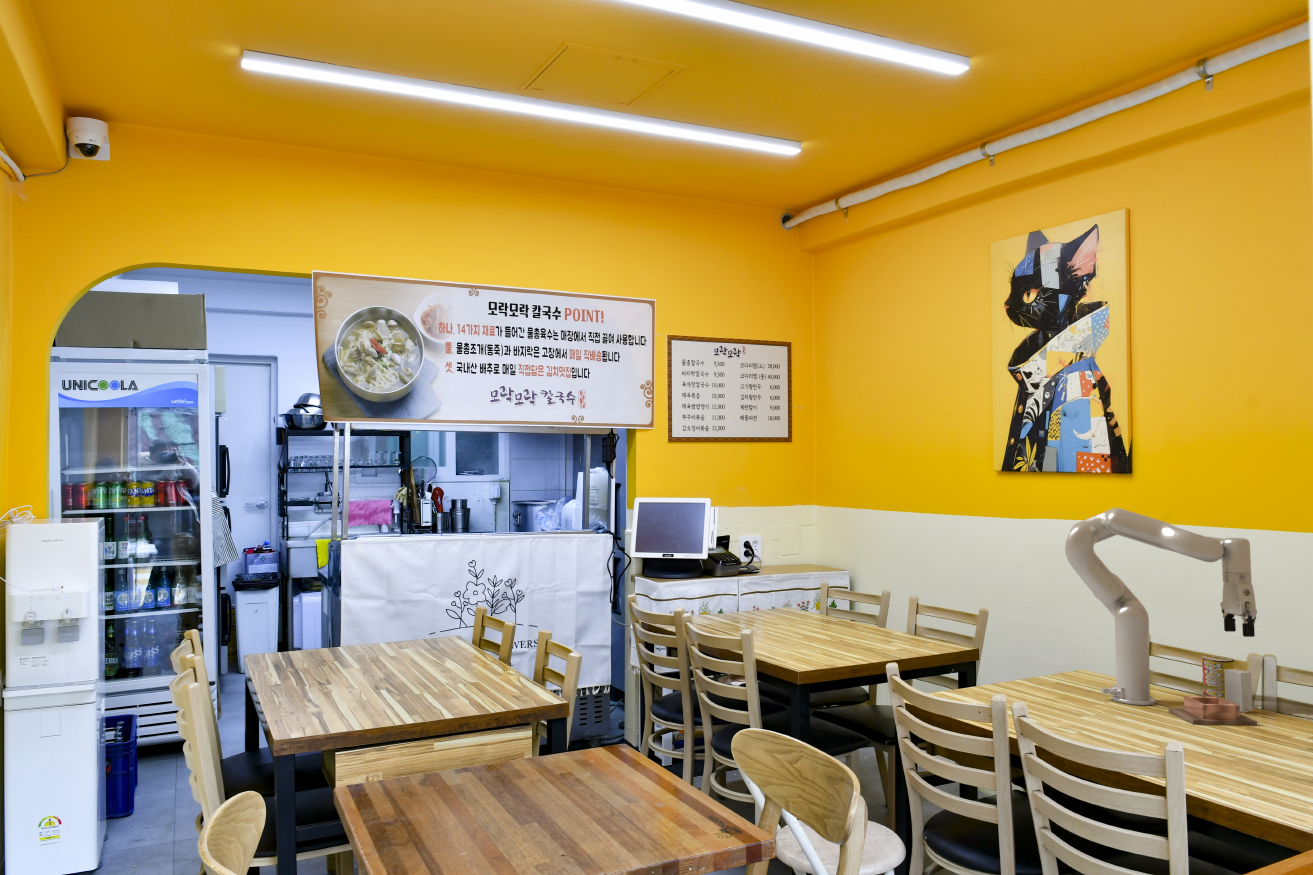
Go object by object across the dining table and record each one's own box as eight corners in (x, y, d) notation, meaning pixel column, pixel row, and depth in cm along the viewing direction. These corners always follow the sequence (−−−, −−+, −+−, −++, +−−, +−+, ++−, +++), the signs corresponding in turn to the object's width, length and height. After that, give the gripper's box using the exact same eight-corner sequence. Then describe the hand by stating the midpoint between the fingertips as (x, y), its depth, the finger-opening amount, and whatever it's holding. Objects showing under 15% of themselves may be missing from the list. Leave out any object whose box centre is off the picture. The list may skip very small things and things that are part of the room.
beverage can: (1201, 690, 305) (1200, 654, 305) (1232, 693, 301) (1231, 657, 301) (1204, 696, 296) (1203, 659, 297) (1237, 699, 293) (1235, 661, 293)
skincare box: (1253, 711, 277) (1251, 672, 277) (1242, 712, 275) (1241, 673, 276) (1235, 707, 282) (1234, 668, 283) (1224, 708, 281) (1223, 669, 282)
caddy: (1193, 724, 262) (1192, 706, 262) (1168, 712, 276) (1168, 694, 276) (1257, 725, 261) (1256, 707, 261) (1229, 712, 275) (1228, 695, 275)
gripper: (1266, 580, 271) (1269, 638, 270) (1233, 575, 288) (1235, 629, 288) (1240, 580, 272) (1243, 638, 271) (1208, 575, 289) (1211, 629, 288)
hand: (1239, 633), depth 279 cm, fingers open, 9 cm apart
